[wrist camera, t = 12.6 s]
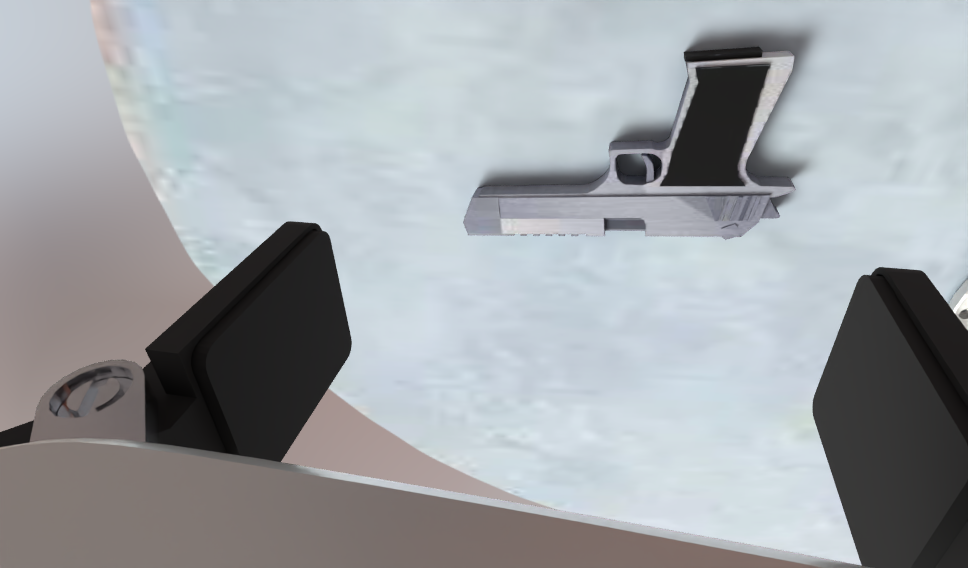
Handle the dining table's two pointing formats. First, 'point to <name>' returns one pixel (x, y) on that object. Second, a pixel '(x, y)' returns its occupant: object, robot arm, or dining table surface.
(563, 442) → the dining table surface
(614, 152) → the handgun
